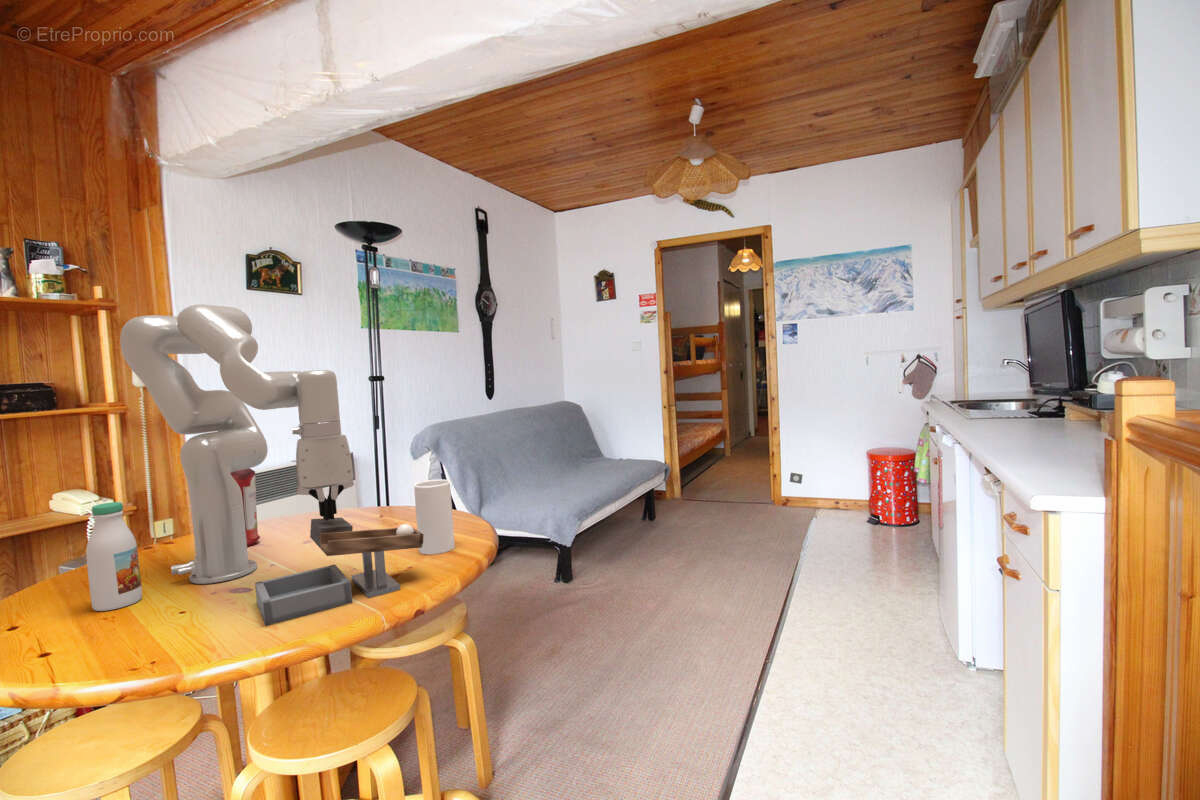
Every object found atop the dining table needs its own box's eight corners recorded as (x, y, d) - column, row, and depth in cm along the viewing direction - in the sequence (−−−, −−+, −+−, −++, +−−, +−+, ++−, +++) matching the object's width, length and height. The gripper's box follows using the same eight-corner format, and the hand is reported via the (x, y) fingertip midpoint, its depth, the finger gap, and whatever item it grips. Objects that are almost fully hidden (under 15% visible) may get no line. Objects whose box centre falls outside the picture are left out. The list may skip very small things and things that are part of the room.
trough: (396, 530, 134) (397, 514, 134) (422, 547, 119) (423, 529, 119) (310, 537, 123) (311, 519, 123) (327, 556, 109) (328, 536, 109)
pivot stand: (368, 598, 111) (364, 556, 110) (351, 580, 121) (348, 542, 121) (400, 589, 114) (397, 549, 114) (381, 572, 125) (378, 535, 124)
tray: (265, 625, 101) (263, 603, 100) (257, 603, 111) (255, 582, 111) (352, 602, 109) (350, 581, 109) (336, 583, 120) (335, 564, 119)
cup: (449, 553, 135) (444, 485, 134) (414, 555, 136) (408, 487, 135) (458, 542, 144) (453, 478, 143) (425, 544, 144) (420, 480, 143)
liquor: (235, 542, 155) (225, 438, 154) (265, 539, 157) (255, 435, 155) (224, 550, 148) (213, 441, 147) (256, 547, 150) (246, 438, 148)
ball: (397, 542, 118) (401, 524, 119) (392, 538, 121) (396, 521, 122) (414, 543, 120) (417, 526, 121) (408, 539, 123) (412, 523, 124)
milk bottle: (101, 615, 110) (89, 510, 109) (85, 608, 114) (74, 507, 113) (149, 600, 116) (139, 501, 115) (133, 593, 120) (123, 498, 119)
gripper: (282, 436, 112) (291, 530, 113) (363, 427, 121) (371, 514, 122) (277, 433, 118) (285, 522, 119) (354, 425, 127) (361, 508, 128)
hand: (328, 518), depth 121 cm, fingers closed
